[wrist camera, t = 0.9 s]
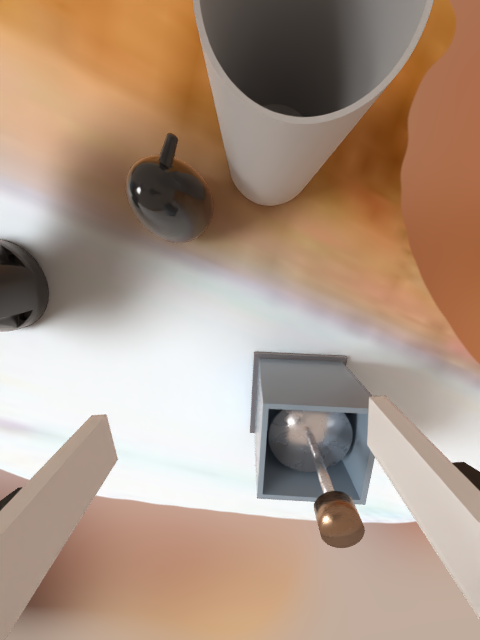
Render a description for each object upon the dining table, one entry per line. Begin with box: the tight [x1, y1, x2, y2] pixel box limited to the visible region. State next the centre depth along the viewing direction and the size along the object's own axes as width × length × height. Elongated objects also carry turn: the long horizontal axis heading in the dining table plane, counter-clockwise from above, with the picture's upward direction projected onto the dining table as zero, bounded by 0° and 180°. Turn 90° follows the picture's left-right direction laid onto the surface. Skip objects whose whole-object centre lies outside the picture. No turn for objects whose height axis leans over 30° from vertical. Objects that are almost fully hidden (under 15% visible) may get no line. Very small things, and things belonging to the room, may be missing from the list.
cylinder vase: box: [193, 0, 434, 206], centre depth 25 cm, size 12×12×25 cm
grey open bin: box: [250, 352, 375, 505], centre depth 39 cm, size 18×16×15 cm
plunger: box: [268, 409, 365, 548], centre depth 30 cm, size 12×12×13 cm
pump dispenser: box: [126, 133, 213, 243], centre depth 32 cm, size 10×10×15 cm
